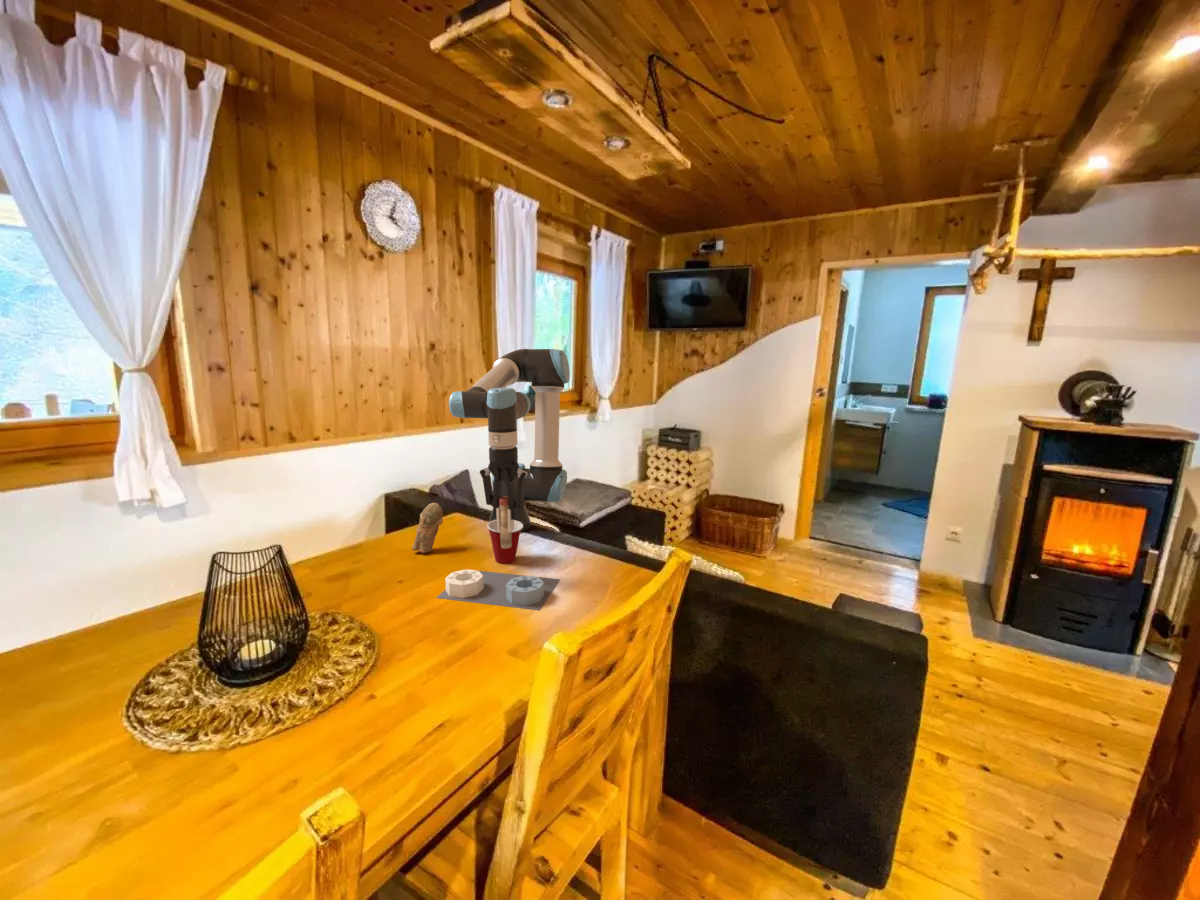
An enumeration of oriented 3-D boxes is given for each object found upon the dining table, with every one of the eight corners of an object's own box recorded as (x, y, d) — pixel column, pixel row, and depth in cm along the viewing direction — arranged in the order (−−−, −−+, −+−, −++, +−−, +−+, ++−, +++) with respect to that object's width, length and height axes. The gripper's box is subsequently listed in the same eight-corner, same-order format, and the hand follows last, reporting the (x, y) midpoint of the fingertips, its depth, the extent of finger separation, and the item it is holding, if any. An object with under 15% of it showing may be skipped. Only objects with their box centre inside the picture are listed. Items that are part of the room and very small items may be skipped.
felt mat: (468, 570, 145) (468, 569, 145) (560, 580, 139) (560, 579, 139) (435, 599, 128) (435, 597, 128) (539, 611, 122) (539, 610, 122)
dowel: (503, 543, 140) (501, 496, 137) (513, 544, 139) (512, 496, 137) (498, 547, 137) (496, 499, 134) (509, 548, 136) (507, 500, 134)
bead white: (457, 580, 138) (456, 568, 137) (487, 584, 136) (487, 571, 135) (440, 595, 129) (439, 582, 128) (472, 599, 127) (472, 586, 126)
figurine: (410, 553, 157) (407, 508, 154) (426, 544, 164) (423, 501, 162) (433, 557, 154) (430, 510, 152) (448, 548, 162) (446, 503, 159)
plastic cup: (511, 571, 145) (510, 532, 143) (480, 565, 149) (479, 526, 147) (530, 557, 155) (530, 521, 153) (501, 552, 159) (500, 516, 157)
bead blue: (515, 587, 134) (515, 574, 134) (547, 590, 132) (547, 578, 132) (501, 602, 125) (501, 589, 125) (536, 606, 124) (535, 593, 123)
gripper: (469, 447, 131) (473, 532, 135) (525, 450, 127) (527, 537, 132) (482, 442, 138) (485, 522, 142) (535, 445, 135) (536, 527, 139)
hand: (505, 529), depth 137 cm, fingers closed on dowel, 2 cm apart
